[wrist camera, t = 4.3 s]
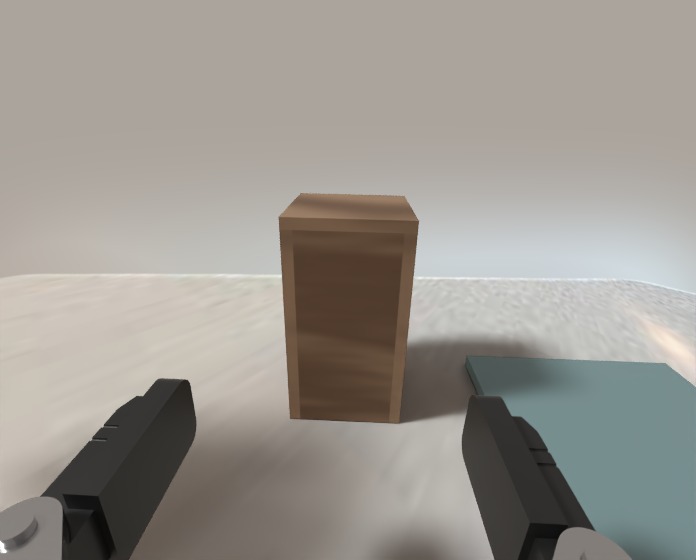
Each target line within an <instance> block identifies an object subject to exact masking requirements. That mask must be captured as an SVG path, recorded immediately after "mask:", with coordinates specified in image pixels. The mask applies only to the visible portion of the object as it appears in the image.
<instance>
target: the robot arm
mask: <svg viewBox="0 0 696 560" xmlns="http://www.w3.org/2000/svg"><path fill="white" fill-rule="evenodd" d="M195 432H196V416H195V410H194V404H193V398H192V392H191V386H190V383H189V381H188V380H183V379H163V378H161V379H158V380H156V381H155V383H154V384H153V385H152V386H151V387H150V389H149V390H148V391H147V392H146V393H145V395H144V396H136V397H135V398H133V399H132V400H130V401H129V402H127V403H126V404H124V405H123V406H121V407H120V408H118V409H117V410H116V412H115V413H114V414H113V415H112V416H111V417H110V418H109V419H108V421H107V422H106V423H105V424H104V427H103V428H101V429H100V430H99V431H98V432H97V433H96V434H95V435H94V436H93V438H92V441H89V442H88V443H87V444H86V446H85V447H84V448H83V449H82V450H81V451H80V452H79V453H78V455H77V456H76V457H75V458H74V459H73V460H72V461H71V463H70V464H69V465H68V466H67V467H66V468H65V469H64V470H63V472H62V473H61V474H60V475H59V476H58V477H57V478H56V480H55V481H54V482H53V483H52V484H51V485H50V486H49V487H48V489H47V490H46V491H45V492H44V493H43V494H42V495H41V496H40V497H35V498H31V499H28V500H25V501H22V502H20V503H17V504H15V505H13V506H11V507H10V508H8V509H6V510H4V511H3V512H1V513H0V560H129V558H130V556H131V554H132V553H133V551H134V549H135V547H136V545H137V543H138V542H139V540H140V538H141V536H142V534H143V532H144V531H145V529H146V527H147V525H148V523H149V522H150V520H151V518H152V516H153V514H154V512H155V511H156V509H157V507H158V505H159V503H160V501H161V500H162V498H163V496H164V494H165V492H166V490H167V489H168V487H169V485H170V483H171V481H172V479H173V478H174V476H175V474H176V472H177V470H178V468H179V467H180V465H181V463H182V461H183V459H184V457H185V456H186V454H187V452H188V450H189V448H190V447H191V445H192V442H193V440H194V437H195ZM462 453H463V458H464V462H465V465H466V468H467V472H468V475H469V478H470V481H471V485H472V488H473V491H474V494H475V498H476V501H477V504H478V507H479V511H480V514H481V517H482V520H483V524H484V527H485V530H486V533H487V537H488V540H489V543H490V546H491V550H492V553H493V556H494V559H495V560H632V558H631V557H630V556H629V555H628V554H627V553H626V552H625V551H624V550H623V549H622V548H621V547H620V546H619V545H617V544H616V543H615V542H613V541H612V540H610V539H609V538H607V537H606V536H604V535H602V534H600V533H598V532H596V530H595V529H594V527H593V526H592V524H591V522H590V521H589V519H588V517H587V515H586V514H585V512H584V510H583V509H582V507H581V505H580V503H579V502H578V500H577V498H576V496H575V495H574V493H573V491H572V490H571V488H570V486H569V484H568V483H567V481H566V479H565V478H564V476H563V474H562V472H561V471H560V469H559V468H557V466H556V462H555V460H554V459H553V457H552V455H551V454H550V453H548V448H547V447H546V445H545V443H544V442H543V440H542V438H541V436H540V435H539V433H538V431H536V430H535V429H534V428H533V427H532V426H531V425H530V424H529V423H528V422H527V421H526V420H525V419H524V418H522V417H520V416H511V414H510V412H509V410H508V408H507V406H506V404H505V402H504V400H503V399H502V398H501V397H500V396H489V395H472V396H471V397H470V400H469V404H468V409H467V414H466V419H465V424H464V429H463V434H462Z"/></svg>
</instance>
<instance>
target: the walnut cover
mask: <svg viewBox="0 0 696 560" xmlns="http://www.w3.org/2000/svg"><path fill="white" fill-rule="evenodd" d="M418 224H419V220H418V219H417V217H416V215H415V214H414V212H413V210H412V208H411V207H410V205H409V203H408V202H407V200H406V198H405V197H404V196H384V195H383V196H381V195H346V194H345V195H344V194H308V193H301V194H300V195H299V196H298V197H297V198H296V199H295V200H294V201H293V202H292V203H291V204H290V206H289V207H288V208H287V209H286V210H285V211H284V212H283V213H282V214H281V215H280V216H279V230H280V247H281V265H282V284H283V301H284V319H285V337H286V354H287V372H288V389H289V407H290V418H293V419H315V420H338V421H361V422H383V423H399V420H400V410H401V399H402V389H403V379H404V368H405V358H406V348H407V338H408V327H409V317H410V307H411V297H412V286H413V276H414V266H415V254H416V245H417V235H418Z"/></svg>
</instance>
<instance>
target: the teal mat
mask: <svg viewBox="0 0 696 560" xmlns="http://www.w3.org/2000/svg"><path fill="white" fill-rule="evenodd" d="M465 365H466V368H467V370H468V372H469V375H470V377H471V379H472V382H473V384H474V386H475V389H476V391H477V393H478V395H489V396H500V397H501V398H502V399H503V400H504V402H505V404H506V406H507V408H508V410H509V412H510V414H511V416H520V417H522V418H524V419H525V420H526V421H527V422H528V423H529V424H530V425H531V426H532V427H533V428H534V429H535V430H536V431H538V433H539V435H540V436H541V438H542V440H543V442H544V443H545V445H546V447H547V448H548V453H550V454H551V455H552V457H553V459H554V460H555V462H556V466H557V468H559V469H560V471H561V472H562V474H563V476H564V478H565V479H566V481H567V483H568V484H569V486H570V488H571V490H572V491H573V493H574V495H575V496H576V498H577V500H578V502H579V503H580V505H581V507H582V509H583V510H584V512H585V514H586V515H587V517H588V519H589V521H590V522H591V524H592V526H593V527H594V529H595V530H596V532H598V533H600V534H602V535H604V536H606V537H607V538H609V539H610V540H612V541H613V542H615V543H616V544H617V545H619V546H620V547H621V548H622V549H623V550H624V551H625V552H626V553H627V554H628V555H629V556H630V557H631V558H632V560H696V387H695V386H694V385H692V384H691V383H690V382H689V381H687V380H686V379H685V378H683V377H682V376H681V375H680V374H678V373H677V372H676V371H674V370H673V369H672V368H671V367H669V366H668V365H667V364H666V363H643V362H617V361H591V360H566V359H540V358H514V357H488V356H467V358H466V363H465Z"/></svg>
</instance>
